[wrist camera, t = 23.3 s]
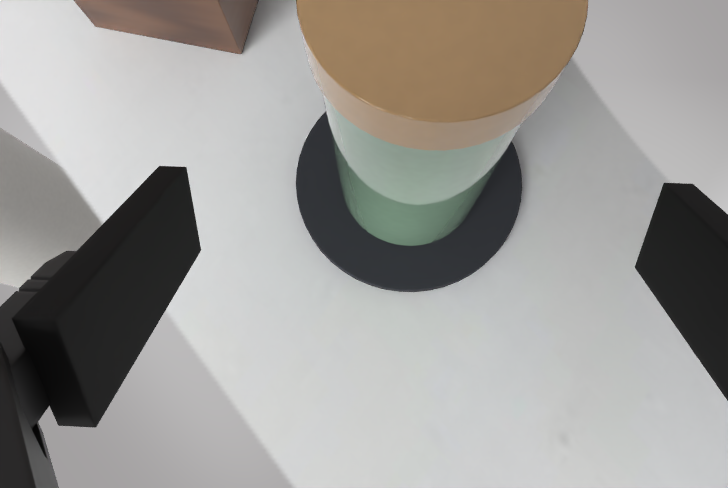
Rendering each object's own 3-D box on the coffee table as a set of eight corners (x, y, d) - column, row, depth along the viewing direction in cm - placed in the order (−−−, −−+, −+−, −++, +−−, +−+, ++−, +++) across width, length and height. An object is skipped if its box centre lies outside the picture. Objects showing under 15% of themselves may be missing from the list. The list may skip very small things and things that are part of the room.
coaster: (272, 264, 23) (270, 262, 22) (326, 65, 25) (325, 59, 25) (499, 315, 22) (502, 313, 22) (534, 104, 24) (538, 99, 24)
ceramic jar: (322, 233, 23) (262, 89, 11) (354, 102, 24) (333, -149, 12) (467, 264, 22) (567, 149, 10) (493, 128, 24) (606, -106, 12)
